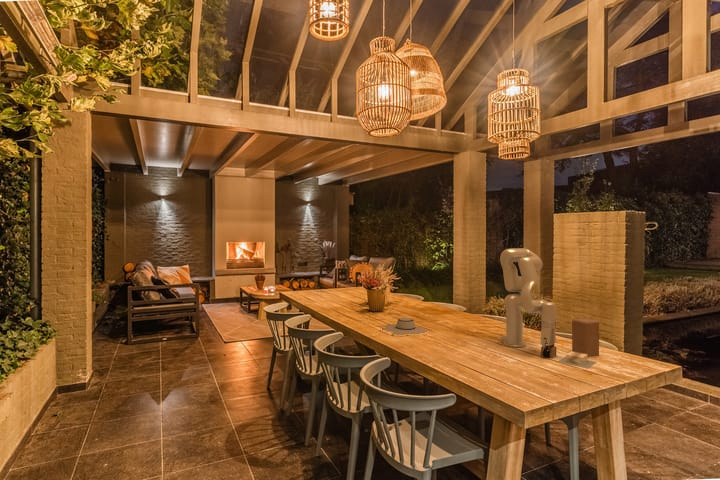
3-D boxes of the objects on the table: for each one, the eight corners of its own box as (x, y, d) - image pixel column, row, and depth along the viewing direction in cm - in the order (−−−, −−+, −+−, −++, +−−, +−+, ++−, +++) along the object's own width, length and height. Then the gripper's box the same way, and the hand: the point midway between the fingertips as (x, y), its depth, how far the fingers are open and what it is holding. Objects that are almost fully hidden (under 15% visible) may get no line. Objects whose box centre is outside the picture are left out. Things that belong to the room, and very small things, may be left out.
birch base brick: (566, 362, 210) (566, 354, 210) (571, 358, 216) (571, 351, 216) (582, 365, 205) (582, 357, 205) (587, 361, 210) (587, 354, 210)
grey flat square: (556, 363, 210) (556, 362, 210) (566, 357, 221) (566, 356, 221) (588, 370, 200) (588, 368, 200) (597, 363, 210) (596, 361, 210)
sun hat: (370, 331, 290) (370, 318, 290) (404, 324, 313) (404, 312, 313) (406, 340, 262) (406, 326, 262) (441, 332, 285) (441, 319, 285)
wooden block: (585, 358, 219) (585, 322, 219) (571, 353, 228) (571, 318, 228) (600, 357, 221) (599, 321, 221) (585, 352, 231) (585, 317, 231)
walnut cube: (541, 357, 221) (541, 346, 221) (545, 355, 225) (545, 344, 225) (552, 359, 217) (552, 348, 217) (556, 357, 221) (556, 346, 221)
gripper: (547, 321, 230) (547, 352, 230) (535, 325, 218) (535, 358, 218) (561, 323, 224) (561, 354, 224) (549, 327, 212) (549, 361, 212)
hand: (548, 356), depth 221 cm, fingers closed on walnut cube, 6 cm apart
